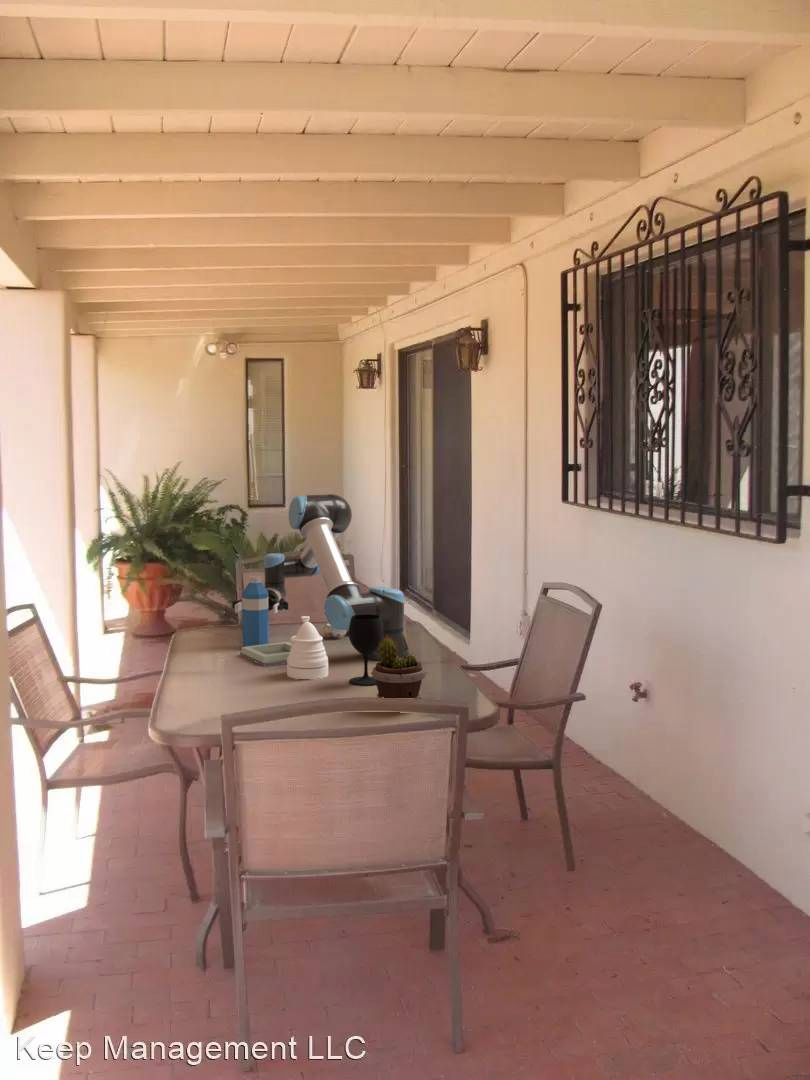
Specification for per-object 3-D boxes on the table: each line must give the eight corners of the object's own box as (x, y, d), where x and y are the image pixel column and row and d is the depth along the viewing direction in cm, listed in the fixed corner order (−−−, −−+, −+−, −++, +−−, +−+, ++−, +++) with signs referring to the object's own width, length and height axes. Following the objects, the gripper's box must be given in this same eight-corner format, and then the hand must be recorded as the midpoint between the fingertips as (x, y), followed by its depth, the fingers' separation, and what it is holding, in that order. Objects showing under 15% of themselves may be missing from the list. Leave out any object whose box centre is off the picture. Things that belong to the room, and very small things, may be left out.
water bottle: (237, 649, 360) (236, 577, 358) (250, 644, 369) (250, 574, 366) (260, 651, 357) (260, 579, 354) (274, 646, 365) (273, 575, 363)
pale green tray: (312, 660, 343) (312, 651, 343) (265, 666, 334) (265, 657, 334) (285, 649, 360) (285, 640, 360) (239, 654, 351) (239, 646, 351)
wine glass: (370, 687, 308) (370, 621, 306) (341, 683, 314) (341, 617, 311) (389, 680, 317) (389, 615, 315) (361, 676, 322) (361, 612, 320)
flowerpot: (435, 703, 291) (435, 633, 289) (405, 716, 278) (406, 642, 276) (391, 695, 299) (392, 627, 297) (361, 707, 286) (361, 636, 284)
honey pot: (281, 672, 327) (281, 615, 325) (320, 668, 332) (320, 613, 330) (293, 681, 315) (293, 623, 313) (334, 677, 320) (333, 620, 318)
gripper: (302, 610, 383) (290, 620, 362) (235, 608, 385) (220, 619, 364) (302, 589, 382) (290, 599, 361) (235, 588, 384) (219, 597, 363)
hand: (255, 609), depth 363 cm, fingers open, 13 cm apart
